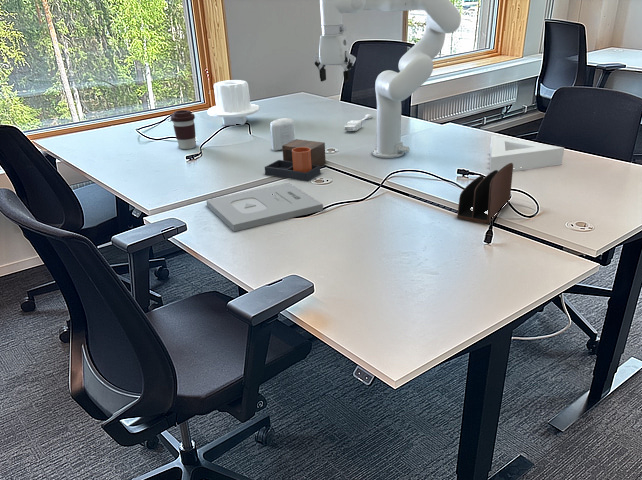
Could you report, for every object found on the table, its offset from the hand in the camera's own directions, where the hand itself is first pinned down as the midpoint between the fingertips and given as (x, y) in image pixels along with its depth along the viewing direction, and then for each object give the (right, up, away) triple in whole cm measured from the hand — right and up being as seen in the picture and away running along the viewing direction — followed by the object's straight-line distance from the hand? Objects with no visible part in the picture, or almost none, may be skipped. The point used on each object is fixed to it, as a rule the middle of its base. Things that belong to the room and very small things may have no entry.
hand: (334, 81), depth 214 cm
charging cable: (+12, +2, +62) cm, 63 cm away
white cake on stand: (-49, +7, +73) cm, 88 cm away
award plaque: (-23, -51, -26) cm, 62 cm away
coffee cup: (-64, -14, +38) cm, 76 cm away
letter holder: (+46, -53, -34) cm, 78 cm away
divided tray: (-16, -34, +2) cm, 37 cm away
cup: (-12, -34, 0) cm, 36 cm away
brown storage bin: (-12, -28, +12) cm, 33 cm away
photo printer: (-22, -17, +32) cm, 42 cm away
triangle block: (+65, -30, +3) cm, 72 cm away
